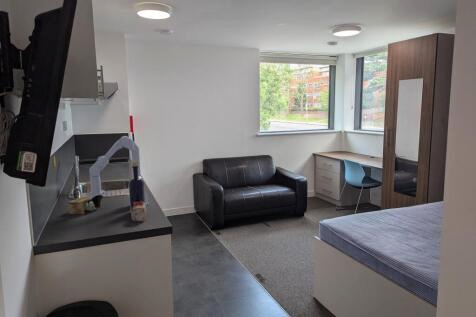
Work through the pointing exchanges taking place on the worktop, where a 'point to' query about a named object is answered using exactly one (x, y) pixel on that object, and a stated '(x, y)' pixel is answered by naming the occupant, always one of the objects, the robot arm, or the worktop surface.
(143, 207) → the food item
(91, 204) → the tray
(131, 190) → the bottle
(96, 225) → the worktop surface
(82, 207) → the wooden arch bridge
